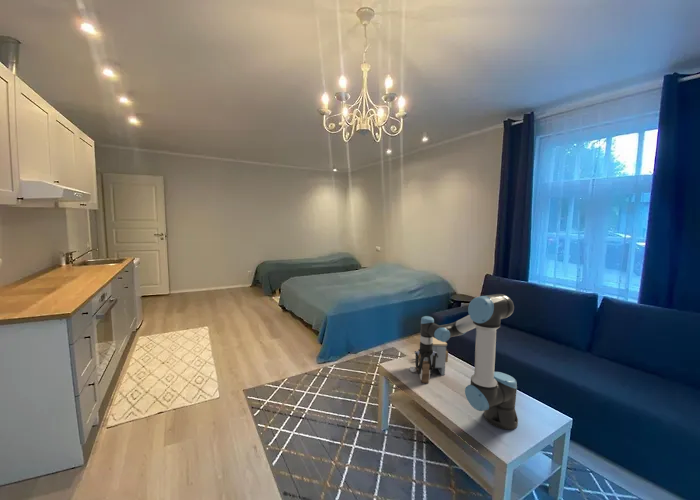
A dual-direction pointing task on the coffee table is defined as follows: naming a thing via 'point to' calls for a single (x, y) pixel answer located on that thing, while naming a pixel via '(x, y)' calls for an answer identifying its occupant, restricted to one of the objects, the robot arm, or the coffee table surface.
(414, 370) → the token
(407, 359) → the coffee table surface
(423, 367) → the wooden block
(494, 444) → the coffee table surface
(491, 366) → the robot arm
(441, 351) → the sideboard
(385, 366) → the coffee table surface
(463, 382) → the coffee table surface
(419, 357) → the stand
